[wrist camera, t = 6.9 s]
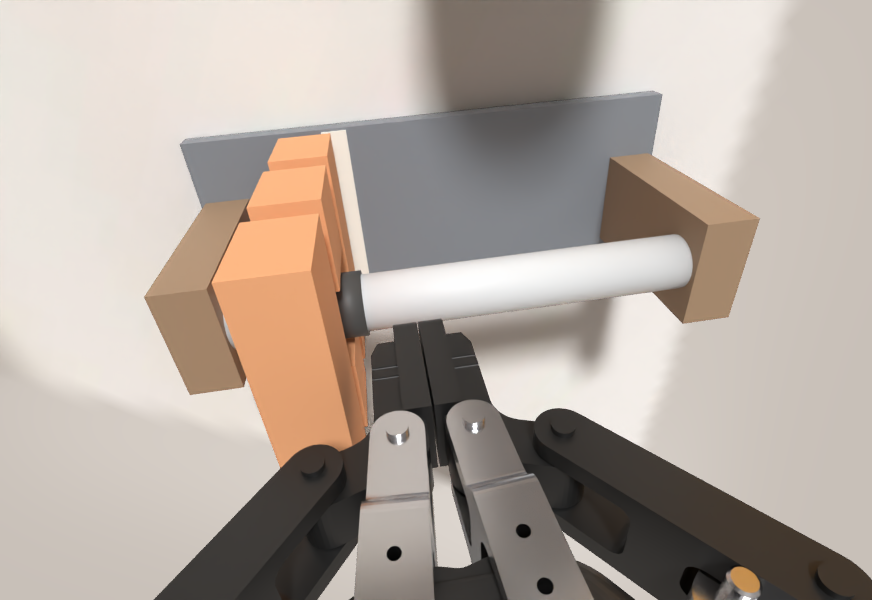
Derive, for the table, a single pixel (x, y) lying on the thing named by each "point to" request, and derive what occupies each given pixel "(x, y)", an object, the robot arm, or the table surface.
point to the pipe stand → (470, 222)
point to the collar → (296, 302)
